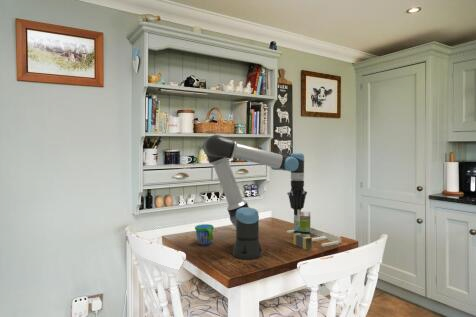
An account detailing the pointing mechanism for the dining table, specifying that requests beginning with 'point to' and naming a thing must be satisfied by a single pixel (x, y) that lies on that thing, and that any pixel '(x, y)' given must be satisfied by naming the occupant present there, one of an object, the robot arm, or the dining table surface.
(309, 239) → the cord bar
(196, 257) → the dining table surface
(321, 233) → the rack
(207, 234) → the snack cup
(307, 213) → the tea box
